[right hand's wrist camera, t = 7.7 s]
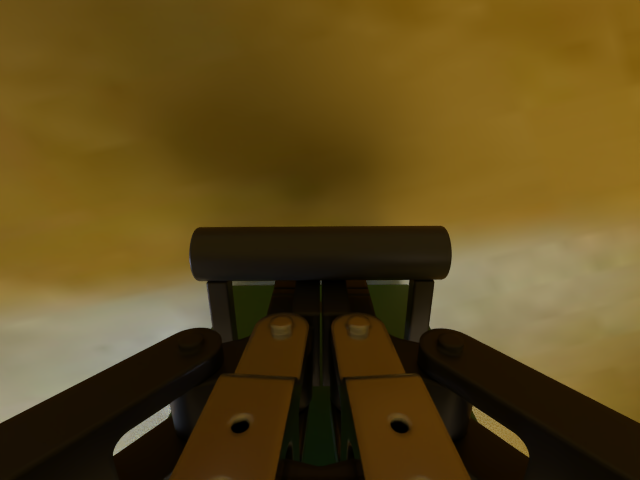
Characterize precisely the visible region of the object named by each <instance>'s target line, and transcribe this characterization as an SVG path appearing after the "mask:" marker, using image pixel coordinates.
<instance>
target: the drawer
mask: <svg viewBox="0 0 640 480" xmlns="http://www.w3.org/2000/svg"><path fill="white" fill-rule="evenodd" d="M189 258H190V267H191V271H192V274H193V276H194V278H195V279H196V280H198V281H208V282H207V290H208V298H209V305H210V312H211V320H212V328H211V329H212V330H215V331H216V332H218V333H219V334H220V335H221V338H222V343H225V342H229V341H234V340H239V339H243V338H245V337H248V336H250V335H251V333H252V331H253V329H254V327H255V325H256V323H257V322H258V321H259V320H260V319H262V318H263V317H265V316H267V312H268V308H269V304H270V300H271V297H272V293H273V289H274V285H247V286H232V281H290V280H409V285H407V284H406V285H368V289H369V293H370V296H371V300H372V304H373V307H374V311H375V314H376V317H377V318H378V319H380V320H381V321H382V322H383V323H384V325H385V327H386V329H387V331H388V333H389V334H390V335H392V336H395V337H397V338H400V339H404V340H409V341H414V342H419V341H420V337H421V335H422V334H423V333H424V332H426V331H428V330H431V329H430V327H429V321H430V313H431V305H432V297H433V289H434V280H442V279H444V278H446V277H447V275H448V273H449V270H450V266H451V258H452V250H451V242H450V237H449V234H448V232H447V230H446V229H445V228H444V227H442V226H339V227H199V228H197V229H196V230H195V231H194V233H193V235H192V238H191V243H190V252H189ZM171 416H172V412H171V413H170V415H169V417H171ZM169 417H168V418H169ZM470 417H471V418H472V419H474V420H475V421H477V419H476V417H475V416H474V414H473V412H472V411H471V416H470ZM477 422H478V421H477ZM304 463H307V464H311V465H315V466H325V465H329V464H333V463H336V455H335V447H334V439H333V431H332V424H331V416H330V386H322V285H320V386H313V388H312V399H311V402H310V415H309V423H308V431H307V439H306V447H305V455H304Z"/></svg>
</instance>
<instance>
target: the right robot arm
mask: <svg viewBox="0 0 640 480" xmlns="http://www.w3.org/2000/svg"><path fill="white" fill-rule="evenodd" d="M313 386H320V280H290V281H275V285H274V289H273V293H272V297H271V300H270V304H269V308H268V312H267V316H265V317H263V318H262V319H260V320H259V321H258V322H257V323H256V325H255V327H254V329H253V331H252V333H251V335H250V336H248V337H245V338H243V339H239V340H234V341H229V342H225V343H222V338H221V335H220V334H219V333H218V332H216V331H215V330H212V329H209V328H192V329H188V330H184V331H181V332H179V333H176V334H174V335H172V336H170V337H168V338H166V339H164V340H163V341H161V342H159V343H157V344H155V345H153V346H151V347H149V348H147V349H145V350H143V351H141V352H139V353H137V354H135V355H133V356H131V357H129V358H127V359H125V360H123V361H121V362H120V363H118V364H116V365H114V366H112V367H110V368H108V369H106V370H104V371H102V372H100V373H98V374H96V375H94V376H92V377H90V378H88V379H86V380H84V381H82V382H80V383H78V384H77V385H75V386H73V387H71V388H69V389H67V390H65V391H63V392H61V393H59V394H57V395H55V396H53V397H51V398H49V399H47V400H45V401H43V402H41V403H39V404H37V405H35V406H34V407H32V408H30V409H28V410H26V411H24V412H22V413H20V414H18V415H16V416H14V417H12V418H10V419H8V420H6V421H4V422H2V423H0V480H640V423H638V422H636V421H634V420H632V419H630V418H628V417H626V416H624V415H622V414H620V413H618V412H616V411H614V410H612V409H610V408H608V407H607V406H605V405H603V404H601V403H599V402H597V401H595V400H593V399H591V398H589V397H587V396H585V395H583V394H581V393H579V392H577V391H575V390H573V389H571V388H569V387H567V386H565V385H563V384H562V383H560V382H558V381H556V380H554V379H552V378H550V377H548V376H546V375H544V374H542V373H540V372H538V371H536V370H534V369H532V368H530V367H528V366H526V365H524V364H522V363H520V362H519V361H517V360H515V359H513V358H511V357H509V356H507V355H505V354H503V353H501V352H499V351H497V350H495V349H493V348H491V347H489V346H487V345H485V344H483V343H481V342H479V341H477V340H476V339H474V338H472V337H470V336H468V335H466V334H463V333H461V332H458V331H455V330H451V329H442V328H440V329H431V330H428V331H426V332H424V333H423V334H422V335H421V337H420V341H419V342H414V341H409V340H404V339H400V338H397V337H395V336H392V335H390V334H389V333H388V331H387V329H386V327H385V325H384V323H383V322H382V321H381V320H380V319H378V318H377V317H376V314H375V311H374V307H373V304H372V300H371V296H370V293H369V289H368V285H367V282H366V280H322V386H330V416H331V424H332V431H333V439H334V447H335V455H336V463H333V464H329V465H325V466H315V465H311V464H307V463H304V455H305V447H306V439H307V431H308V423H309V415H310V402H311V399H312V388H313ZM168 404H170V407H171V412H172V416H171V417H169V418H168V419H166V420H165V421H163V422H162V423H160V424H159V425H158V426H156V427H155V428H153V429H152V430H150V431H149V432H147V433H146V434H145V435H143V436H142V437H140V438H139V439H137V440H136V441H135V442H133V443H132V444H130V445H129V446H127V447H126V448H124V449H123V450H122V451H120V452H119V453H117V454H116V455H114V456H113V451H114V448H115V446H116V444H117V442H118V441H119V440H120V438H121V437H122V436H123V435H124V434H125V433H127V432H128V431H129V430H131V429H132V428H134V427H135V426H137V425H138V424H140V423H141V422H143V421H144V420H146V419H147V418H149V417H150V416H152V415H153V414H155V413H156V412H158V411H159V410H161V409H162V408H164V407H165V406H167V405H168ZM472 406H475V407H476V408H478V409H479V410H481V411H482V412H484V413H485V414H487V415H488V416H490V417H491V418H493V419H494V420H496V421H497V422H499V423H500V424H502V425H503V426H505V427H506V428H508V429H509V430H511V431H512V432H514V433H515V434H516V435H517V436H519V437H520V439H521V440H522V441H523V442H524V444H525V445H526V447H527V449H528V452H529V457H527V456H526V455H524V454H523V453H521V452H520V451H518V450H517V449H516V448H514V447H513V446H511V445H510V444H508V443H507V442H505V441H504V440H503V439H501V438H500V437H498V436H497V435H495V434H494V433H493V432H491V431H490V430H488V429H487V428H485V427H484V426H482V425H481V424H480V423H478V422H477V421H475V420H474V419H472V418H471V417H470V416H471V411H472Z"/></svg>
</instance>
